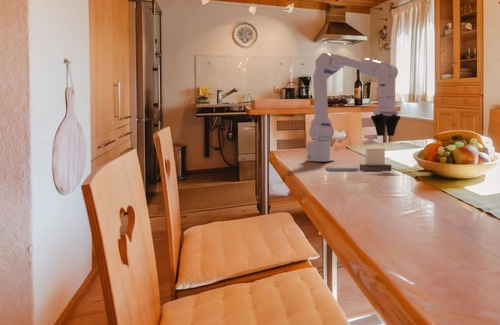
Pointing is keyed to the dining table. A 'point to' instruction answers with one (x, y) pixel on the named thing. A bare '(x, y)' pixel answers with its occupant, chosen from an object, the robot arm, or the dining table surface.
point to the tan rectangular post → (375, 156)
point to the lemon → (421, 154)
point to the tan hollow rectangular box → (375, 167)
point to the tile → (341, 168)
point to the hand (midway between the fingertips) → (385, 135)
